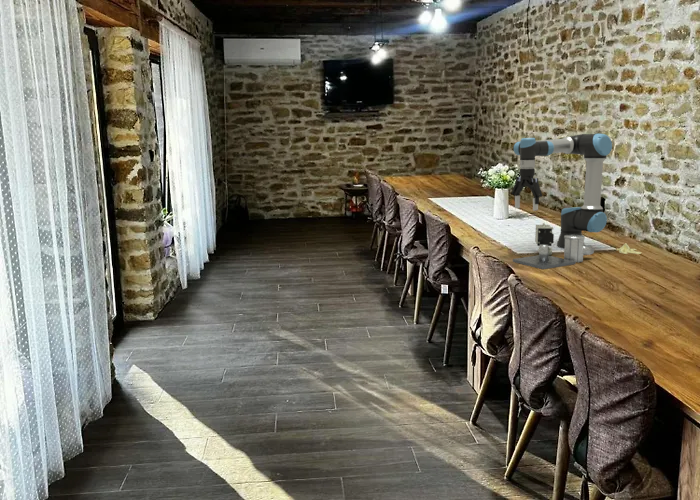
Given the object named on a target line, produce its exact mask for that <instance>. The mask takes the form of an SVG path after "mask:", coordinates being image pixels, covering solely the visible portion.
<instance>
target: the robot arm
mask: <svg viewBox="0 0 700 500" xmlns="http://www.w3.org/2000/svg"><path fill="white" fill-rule="evenodd" d="M612 149H613V143H612V140H611V138H610V137H609V135H607V134H606V133H605V134H604V133H598V132H597V133H580V134H575V135H570V136H564V137H563V138H555V139H553V138H552V139H541V140H537V139H536V138H535V137H522V138H521V139H520V141H517V142H515V143H514V145H513V153H514V154H515V155H516V156H519V176H516V177H515V182H514V185H513V187H512V192H511V195H513V196H514V209H520V208H521V195H520V194H521V192H522V191H523V189H524V188H525V187H526V188H527V187H528V189H530V192H531V193H532V195H533V199H532V211H533V212H535V211H539V203H540V198H542V197H543V193H542V190H541V186H540V184H539V178H538V177H536V178H534V176H535V173H536V169H535V168H536V157H547V156H551V155H552V154H558V153H559V154H561V153H563V154H566V155H571V154H572V155H579V156H583V159H584V161H585V162H586V163H585V179H584V192H583V193H584V195H583V205H582V206H577V207H564V208H562V209H561V213H560V234H559V237H558V239H557V242H556V247H557V246H558V248H561V249H565V238H564V236H565V235H582V236H583V233H582V232H588V233H599V232H602V231H603V229H604V228H605V227H606V225H607V221H608V217H607V214H606V213H605V212H603V211H604V208H603V206H601V198H602V197H601V196H602V185H603V184H602V183H603V182H602V181H603V171H604V170H603V169H604V162H605V161H606V160H607V156H608V155H609V154H611V152H612Z"/></svg>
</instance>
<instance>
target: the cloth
mask: <svg viewBox="0 0 700 500" xmlns="http://www.w3.org/2000/svg"><path fill="white" fill-rule="evenodd" d="M616 248H617V247H616ZM616 250H617V251H618V252H619V253H620V254H625V255H628V254H634V255H641V253H642V252H641V251H638V250H637V249H636V248H631V247H630V246H629V245H628V243H626V242H625V243H624V244H623V245H622V246H621V247H619V248H617V249H616Z"/></svg>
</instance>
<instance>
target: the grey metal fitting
mask: <svg viewBox="0 0 700 500" xmlns="http://www.w3.org/2000/svg"><path fill="white" fill-rule="evenodd" d="M564 238H565V248H564V250H563V251H564V254H563V255H564V256H563V257H564V258H563V259H567V260H572V261H575V263H583V261H584V256H589V255H593V254H594V253H595V248H594V246H593V245H591V244H590V245H589V244H588V245H585V235H583V234H582V235H565V236H564Z"/></svg>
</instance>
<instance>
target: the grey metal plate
mask: <svg viewBox="0 0 700 500" xmlns="http://www.w3.org/2000/svg"><path fill="white" fill-rule="evenodd" d="M548 247H549V246H548V245H547V244H540V246H538V249H539V252H538V255H531V256H523V257H518V258H517V257H516V258H513V259H512V262H513V263H516V264H519V263H520V265H524V266H527V267H532V268H535V269H539V270H546V269H555V268H560V267H566V266H572V265H574V266H575V265H576V262H575V261H572V260H567V259H564V258H562V257H557V256H553V255H548Z"/></svg>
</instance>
